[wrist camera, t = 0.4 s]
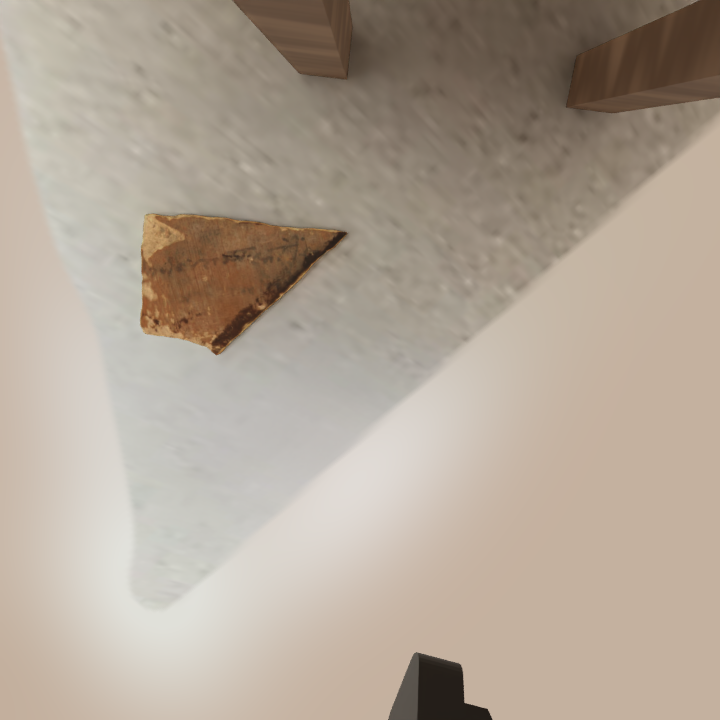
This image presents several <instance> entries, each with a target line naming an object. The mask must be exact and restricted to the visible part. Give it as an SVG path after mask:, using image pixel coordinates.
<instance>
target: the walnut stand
mask: <svg viewBox="0 0 720 720" xmlns="http://www.w3.org/2000/svg"><path fill="white" fill-rule="evenodd" d="M233 2H234V3H235V4H236V5H237V6H238V7H239V8H240V9H241V10H242V11H243V12H244V14H245V15H246V16H247V17H248V18H249V19H250V20H251V21H252V22H253V23H254V24H255V26H256V27H257V28H258V29H259V30H260V31H261V32H262V33H263V34H264V35H265V36H266V38H267V39H268V40H269V41H270V42H271V43H272V44H273V45H274V46H275V47H276V48H277V50H278V51H279V52H280V53H281V54H282V55H283V56H284V57H285V58H286V59H287V60H288V61H289V63H290V64H291V65H292V66H293V67H294V68H295V69H296V70H297V71H298V72H299V73H300V74H307V75H315V76H322V77H330V78H338V79H346V80H347V75H348V66H349V56H350V46H351V36H352V20H351V12H350V5H349V0H233ZM719 97H720V0H700V1H698V2H695V3H693V4H691V5H689V6H686V7H684V8H682V9H680V10H678V11H675V12H673V13H671V14H669V15H666V16H664V17H662V18H660V19H657V20H655V21H653V22H651V23H649V24H646V25H644V26H642V27H640V28H637V29H635V30H633V31H631V32H628V33H626V34H624V35H622V36H620V37H617V38H615V39H613V40H611V41H608V42H606V43H604V44H602V45H599V46H597V47H595V48H593V49H591V50H588V51H586V52H584V53H582V54H579V55H577V57H576V62H575V66H574V71H573V76H572V81H571V86H570V91H569V96H568V101H567V106H566V107H568V108H576V109H584V110H592V111H600V112H608V113H617V112H624V111H631V110H637V109H644V108H651V107H658V106H665V105H671V104H678V103H685V102H692V101H699V100H705V99H712V98H719Z"/></svg>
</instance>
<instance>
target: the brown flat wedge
mask: <svg viewBox="0 0 720 720" xmlns="http://www.w3.org/2000/svg"><path fill="white" fill-rule="evenodd" d="M143 232H144V233H143V242H142V246H141V257H142V276H143V280H142V309H141V317H140V325H141V327H142V329H143V332H144V333H145V334H150V335H156V336H166V337H172V338H180V339H183V340H188V341H190V342H193V343H196V344H199V345H202V346H206V347H207V348H209V349H210V350H211V351H212V352H213V353H214V354H216V355H218V354H220V353H221V352H223V350H224V349H225V348H226V346H228V345H229V344H230V343H231V342H232V340H233V339H235V338H236V337H237V336H239V335H240V334H241V333H242V332H243V331H244V330H245V329H246V328H247V327H249V325H250V324H251V323H252V322H254V321H255V320H256V319H257V318H258V317H259V316H260V315H261V314H262V313H263V312H264V311H265V310H266V309H267V308H269V307H270V306H271V305H273V304H274V303H275V302H276V301H277V300H278V299H280V298H281V297H282V296H283V294H284V293H286V292H287V291H288V290H289V289H290V288H291V287H292V286H293V285H295V284H296V283H297V282H298V281H299V280H300V279H301V278H302V277H303V275H304V274H305V273H306V272H307V271H308V270H309V269H310V267H311V266H312V265H313V264H314V263H315V262H316V261H317V260H318V259H319V258H320V257H321V256H323V255H324V254H325V253H326V252H327V251H329V250H331V249H333V248H334V247H335V246H336V245H337V244H338V243H339V242H340V241H341V240H342V239H343V238H344V237H345V236H346V235H347V234H348V233H347V232H342V231H337V230H325V229H314V228H309V229H300V228H291V227H279V226H272V225H268V224H264V223H260V222H252V221H238V220H233V219H229V218H219V217H213V218H211V217H206V216H198V215H184V214H180V215H177V216H161V215H157V214H147V215H145V220H144V225H143Z"/></svg>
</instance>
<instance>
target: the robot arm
mask: <svg viewBox="0 0 720 720" xmlns="http://www.w3.org/2000/svg"><path fill="white" fill-rule="evenodd" d="M388 720H492V718H491V716H490V713H489V711H488V709H485V708H481V707H478V706H474V705H470V704H466V703H464V685H463V671H462V667H461V665H460V664H459V663H455V662H451V661H447V660H444V659H440V658H436V657H432V656H428V655H425V654H421V653H417V652H416V653H414V655H413V657H412V659H411V661H410V664H409V666H408V669H407V671H406V674H405V676H404V679H403V681H402V684H401V687H400V689H399V692H398V694H397V697H396V699H395V702H394V704H393V707H392V710H391V712H390V716H389V719H388Z"/></svg>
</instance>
